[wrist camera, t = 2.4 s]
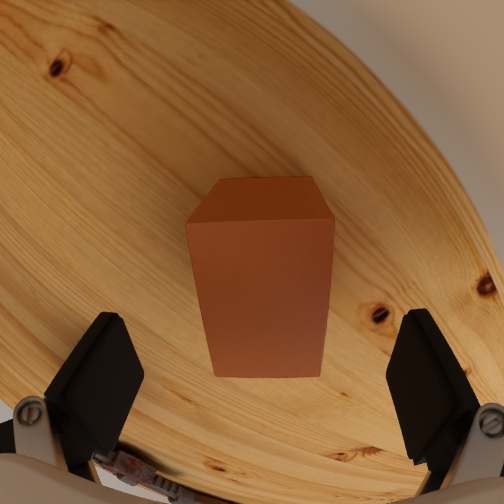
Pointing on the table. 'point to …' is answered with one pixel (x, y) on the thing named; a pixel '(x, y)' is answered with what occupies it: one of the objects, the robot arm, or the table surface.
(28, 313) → the table surface
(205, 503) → the pipe wrench
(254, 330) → the orange brown rectangular block
